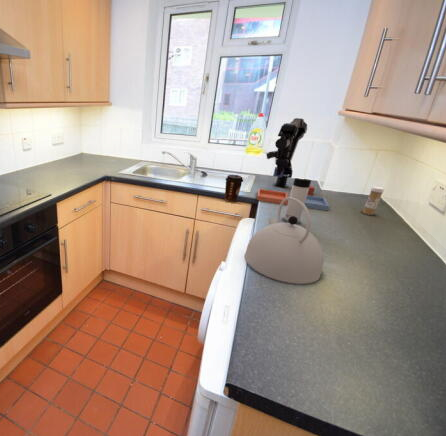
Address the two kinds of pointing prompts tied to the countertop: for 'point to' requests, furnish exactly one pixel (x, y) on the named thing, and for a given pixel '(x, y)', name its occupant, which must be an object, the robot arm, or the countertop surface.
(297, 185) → the travel mug
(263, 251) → the kettle
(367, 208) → the sprinkles bottle
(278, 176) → the slate-blue block
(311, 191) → the terracotta block
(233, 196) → the coffee cup
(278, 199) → the terracotta tray
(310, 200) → the blue tray
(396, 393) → the countertop surface
